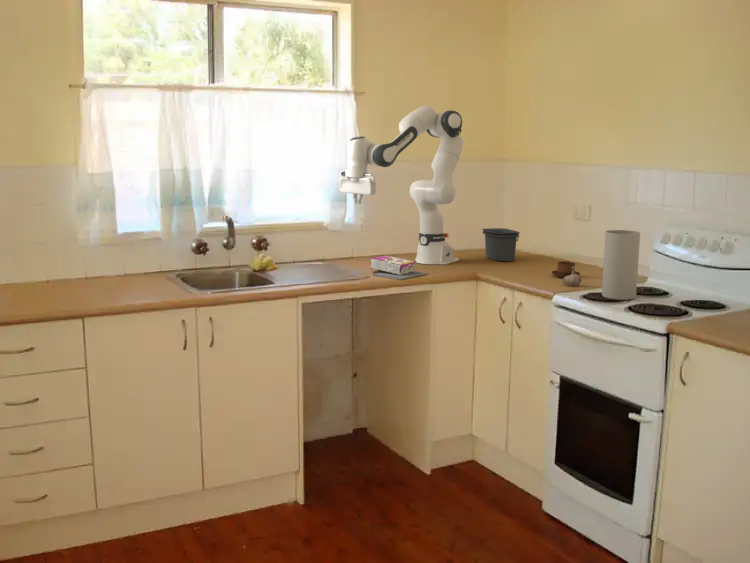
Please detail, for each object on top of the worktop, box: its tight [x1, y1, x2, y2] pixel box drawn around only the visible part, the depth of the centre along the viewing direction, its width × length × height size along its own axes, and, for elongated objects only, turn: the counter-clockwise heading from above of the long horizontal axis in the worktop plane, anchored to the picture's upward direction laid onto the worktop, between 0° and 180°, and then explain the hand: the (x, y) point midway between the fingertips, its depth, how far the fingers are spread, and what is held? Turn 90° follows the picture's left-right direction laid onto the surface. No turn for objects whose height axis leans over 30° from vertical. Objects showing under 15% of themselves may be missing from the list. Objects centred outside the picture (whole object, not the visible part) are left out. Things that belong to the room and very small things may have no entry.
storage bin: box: [481, 227, 521, 262], centre depth 399 cm, size 21×16×14 cm
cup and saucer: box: [551, 261, 581, 279], centre depth 353 cm, size 12×12×6 cm
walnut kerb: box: [372, 269, 384, 275], centre depth 360 cm, size 14×1×2 cm, turn 137°
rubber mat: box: [372, 270, 429, 281], centre depth 354 cm, size 18×16×1 cm
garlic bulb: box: [562, 267, 582, 288], centre depth 332 cm, size 8×7×8 cm
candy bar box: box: [370, 255, 416, 275], centre depth 358 cm, size 11×5×16 cm
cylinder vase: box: [601, 229, 641, 301], centre depth 307 cm, size 12×12×25 cm
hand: (357, 203), depth 369 cm, fingers closed
